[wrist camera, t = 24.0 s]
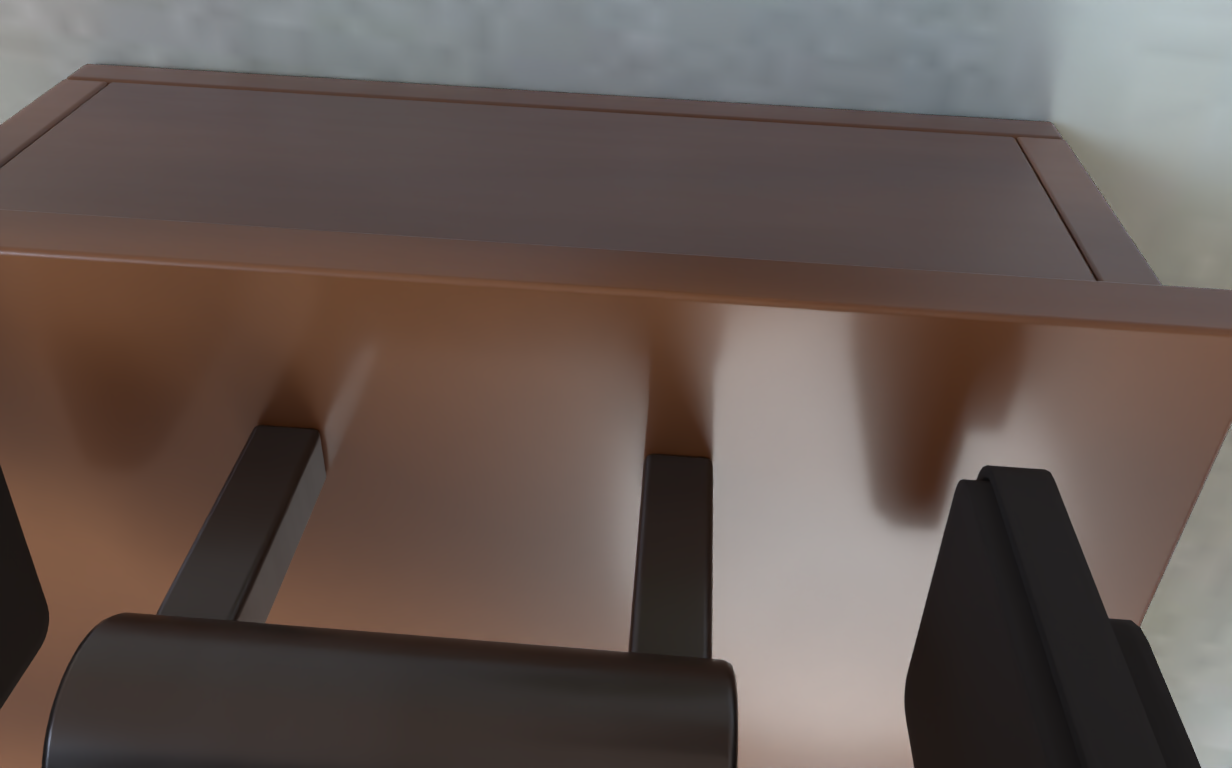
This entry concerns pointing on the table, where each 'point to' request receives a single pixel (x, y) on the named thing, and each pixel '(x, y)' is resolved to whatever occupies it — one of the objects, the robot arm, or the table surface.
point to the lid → (541, 488)
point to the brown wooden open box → (566, 171)
